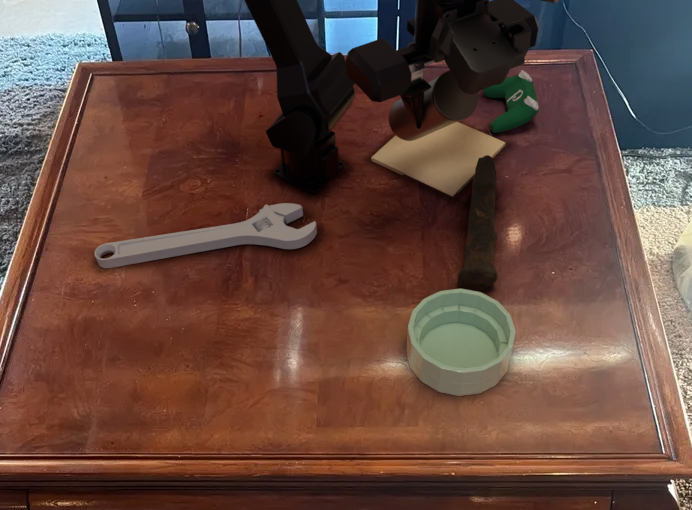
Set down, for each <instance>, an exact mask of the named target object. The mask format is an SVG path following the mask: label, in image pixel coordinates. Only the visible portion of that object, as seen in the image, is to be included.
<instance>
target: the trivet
mask: <svg viewBox="0 0 692 510" xmlns="http://www.w3.org/2000/svg"><path fill="white" fill-rule="evenodd" d="M505 146H506V141H503V140H500V139H499V138H496V137H495V136H492V135H489V134H487V133H485V132H482V131H480V130H478V129H475V128H473V127H471V126H468V125H466V124H464V123H461V122H460V121H458V122H456V123H453V124H451V125H449V126H446V127H444V128H442V129H440V130H437V131H435V132H433V133H430V134H428V135H426V136H423V137H421V138H419V139H416V140H414V141H405V140H402V139H400V138H399V137H397V136H396V135H395V134H394V136H393V137H392V138H391V139H390V140H388V141H387V142H386V143H385V144H384V145H383V146H382V147H381V148H380V149H378V151H376V152H375V154H373V155H372V156H371V158H370V161H371V162H373V163H375V164H377V165H379V166H382V167H384V168H385V169H388V170H389V171H391V172H394V173H396V174H397V175H400V176H404V175H406V176H407V177H410V178H411V179H414V180H416V181H418V182H420V183H422V184H424V185H427V186H429V187H430V188H433V189H435V190H438V191H440V192H441V193H444V194H446V195H448V196H450V197H452V198H453V197H454V196H455V195H456V194H457V193H459V194H460V192H462V190H463V189H464V188H465V187H466V186H467V185H468V184H469V183H470V182H472V181H473V179H474V176H475V168H476V166H477V162H478V159H479V158H482V157H484V156H486V155H489V156H490V157H492V158H493V159H494V158H495V157H496V155H498V154H499V153H500V152H501V151H502V150H503V149H504V147H505Z"/></svg>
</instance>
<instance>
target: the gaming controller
mask: <svg viewBox="0 0 692 510" xmlns="http://www.w3.org/2000/svg"><path fill="white" fill-rule="evenodd" d="M483 94H484V96H485V97H487V98H490V99H499V98H500V99H501V98H504V100H505V104H506V110H507V111H506V112H503V113H502V114H500V115H498V116H497V117H496V118H494V120H492V121H491V123H490V124H489V128H490V130H491V132H492V133H493V134H498V133H503V132H507V131H511V130H514V129H516V128H518V127H520V126H523V125H525V124H527V123H528V122H531V121H533V119H534V117H535V116H536V115H537V114H538V113H539V110H540V109H539V103H538V97H537V92H536V89H535V86H534V83H533V78H532V77H531V75H529V73H527V72H526V71H525V70H523V69H521V71H520V72H519V73H517V74H515V75H513V76H509V77H508V76H507V77H506V78H505V80H504V82H503V83H501V84H499V85H493V86H491V87H488V88H485V89H483Z"/></svg>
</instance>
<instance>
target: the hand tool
mask: <svg viewBox="0 0 692 510" xmlns="http://www.w3.org/2000/svg"><path fill="white" fill-rule="evenodd" d="M495 162H496V161H494V158H492V157H490V156H489V155H486V156H484V157H482V158H479V159H478V162H477V166H476V168H475V176H474V178H473V179H472V184H471V185H472V187H471V188H472V189H471V199H470V206H469V213H468V223H467V232H466V239H465V247H464V256H463V267H462V268H461V269H460V271H458V272H459V273H458V275H457V282H456V284H457V285H458V286H459V287H460V289H466V290H471V291H477V292H484V291H485V292H487V291H491V290H492V289H493V288H494V286H495V283H496V282H497V280H498V271H497V269H496V267H495V265H494V258H495V257H494V256H495V250H496V242H497V241H498V235H497V233H496V232H495V217H496V216H495V207H496V205H495V203H496V187H497V169H496V163H495Z"/></svg>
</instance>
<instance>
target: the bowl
mask: <svg viewBox="0 0 692 510" xmlns="http://www.w3.org/2000/svg"><path fill="white" fill-rule="evenodd" d="M407 324H408V325H407V331H406V332H407V333H406V350H405V353H406V356H407V361H408V365H409V368H410V369H411V371H412V372H413V374H414V375H415V376H416V377H417V378H418V379H419V381H420V382H421V383H422V384H425V385H426V386H428V387H430V388H431V389H433V390H435V391H436V392H438V393H441V394H445V395H446V394H447V395H452V396H456V397H462V396H463V397H464V396H470V395H471V396H472V395H478V394H482V393H484V392H485V391H487V390H490V389H491V388H493V387H496V386H497V385H498V384H499V382H500V381H501V380H502V378H503V377H504V376H505V375H506V373H507V372H508V370H509V366H510V360H511V358H512V353H513V349H514V343H515V337H516V332H517V331H516V327H515V324H514V321H513V318H512V315H511V314H510V313H509V311H507V309H506V308H505V307H504V306H503V305H502V304H501V302H499V301H498V300H497V299H495V298H493V297H491V296H488V295H487V294H485V293H483V292H482V291H477V290H470V289H463V288H454V289H453V288H452V289H445V290H439V291H437V292H435V293H432V294H431V295H429V296H427V297H425V298H423V299H422V300H421V301H420V302H419V303H418V304H417V306H416V307H415V308H414V309H413V310H412V311H411V313H410V317H409V321H408V323H407Z"/></svg>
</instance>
